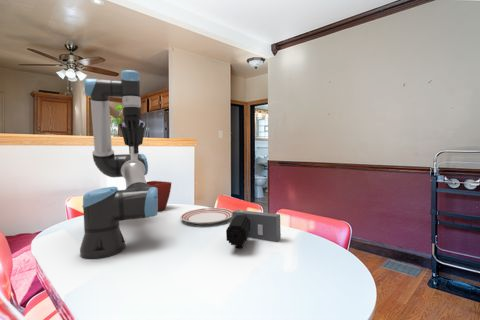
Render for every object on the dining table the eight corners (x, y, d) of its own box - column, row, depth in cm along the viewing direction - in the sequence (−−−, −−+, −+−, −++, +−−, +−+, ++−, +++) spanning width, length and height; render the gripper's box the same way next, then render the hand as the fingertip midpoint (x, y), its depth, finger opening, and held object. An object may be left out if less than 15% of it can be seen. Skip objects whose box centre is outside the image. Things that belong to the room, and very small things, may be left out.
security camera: (251, 237, 114) (250, 213, 113) (246, 255, 96) (245, 226, 95) (234, 237, 115) (234, 213, 114) (226, 254, 96) (225, 226, 96)
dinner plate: (226, 228, 127) (226, 221, 127) (171, 226, 133) (171, 220, 133) (238, 214, 154) (238, 208, 154) (192, 213, 160) (192, 207, 159)
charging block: (276, 242, 107) (276, 216, 106) (232, 235, 117) (231, 211, 116) (280, 238, 111) (280, 213, 110) (237, 232, 121) (236, 209, 120)
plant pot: (155, 205, 182) (154, 180, 181) (173, 209, 170) (172, 182, 169) (128, 211, 167) (126, 183, 166) (145, 215, 155) (144, 186, 154)
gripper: (113, 107, 119) (116, 161, 120) (138, 105, 114) (140, 161, 116) (126, 109, 126) (128, 160, 127) (149, 107, 121) (152, 160, 123)
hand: (134, 161), depth 121 cm, fingers closed
